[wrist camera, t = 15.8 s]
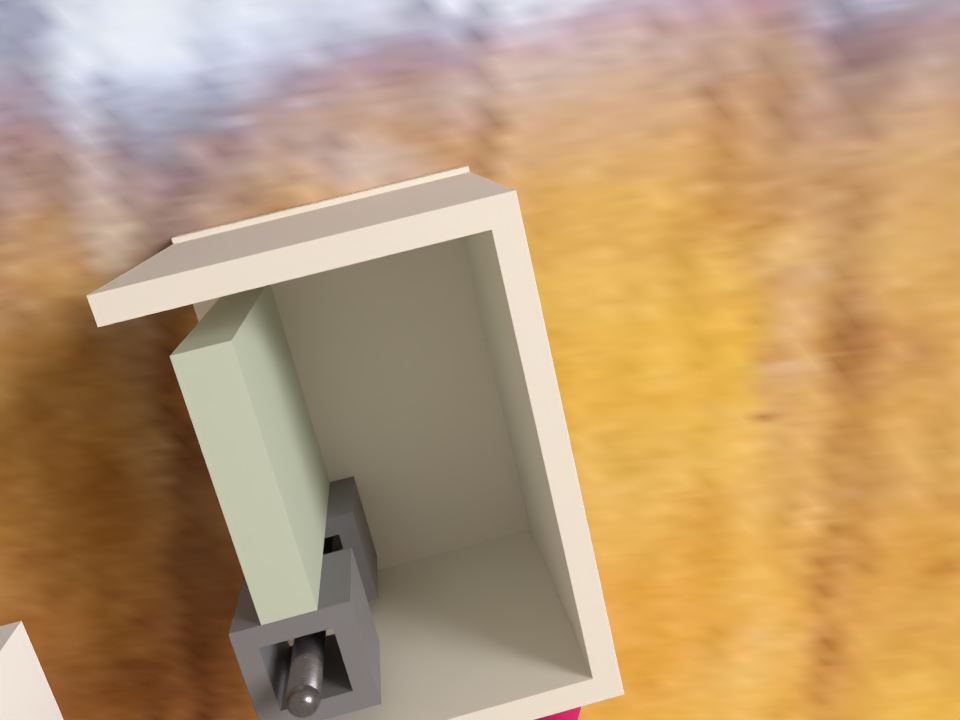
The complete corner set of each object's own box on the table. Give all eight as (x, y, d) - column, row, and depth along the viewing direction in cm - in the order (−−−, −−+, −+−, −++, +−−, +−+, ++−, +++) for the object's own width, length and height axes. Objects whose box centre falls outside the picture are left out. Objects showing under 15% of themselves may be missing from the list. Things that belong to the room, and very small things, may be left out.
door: (199, 297, 47) (133, 365, 34) (294, 274, 47) (267, 331, 34) (290, 578, 52) (264, 736, 38) (376, 555, 52) (381, 703, 39)
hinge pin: (306, 521, 51) (279, 700, 35) (330, 514, 51) (314, 691, 35) (312, 542, 51) (289, 730, 35) (336, 536, 51) (324, 720, 35)
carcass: (176, 235, 47) (83, 287, 32) (465, 165, 48) (514, 182, 33) (296, 606, 54) (268, 801, 38) (550, 537, 55) (625, 699, 39)
